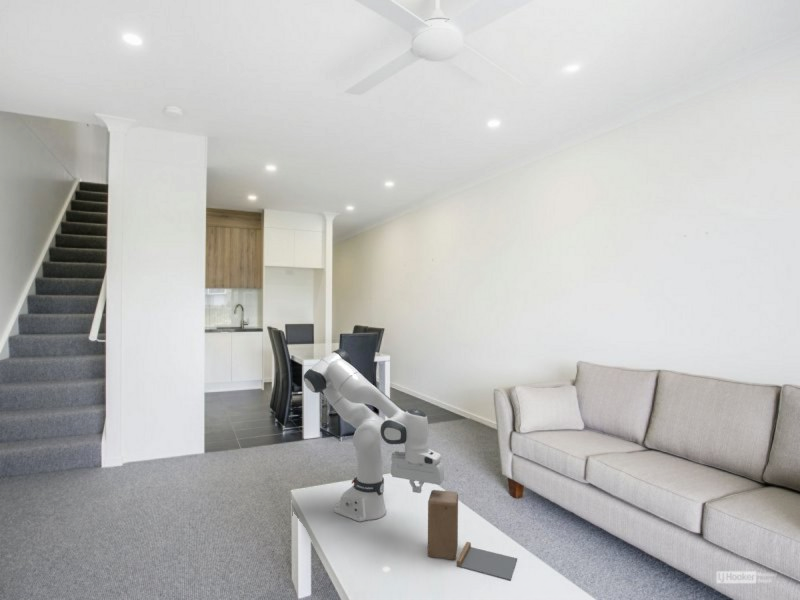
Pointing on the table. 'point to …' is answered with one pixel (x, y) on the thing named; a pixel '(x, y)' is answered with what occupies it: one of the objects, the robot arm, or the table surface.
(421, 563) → the table surface
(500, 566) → the mat
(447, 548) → the wooden block
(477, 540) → the table surface
